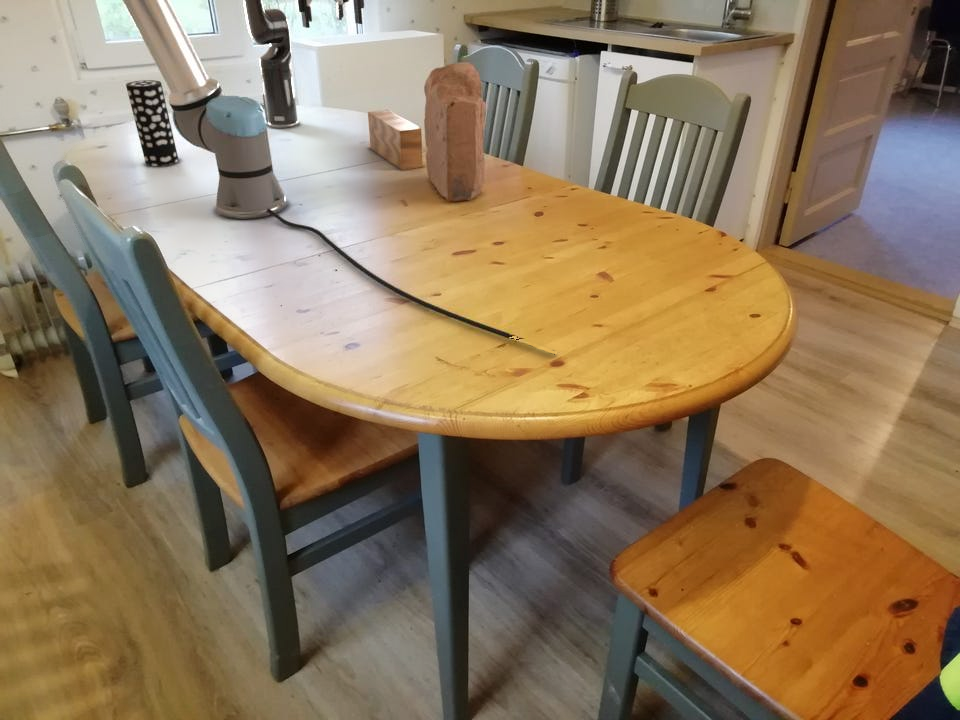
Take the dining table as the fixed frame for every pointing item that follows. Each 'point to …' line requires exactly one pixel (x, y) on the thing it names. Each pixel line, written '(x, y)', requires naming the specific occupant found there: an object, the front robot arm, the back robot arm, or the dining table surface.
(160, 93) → the black white spotted cylinder
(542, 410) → the dining table surface
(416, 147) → the box
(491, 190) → the dining table surface
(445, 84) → the stone
